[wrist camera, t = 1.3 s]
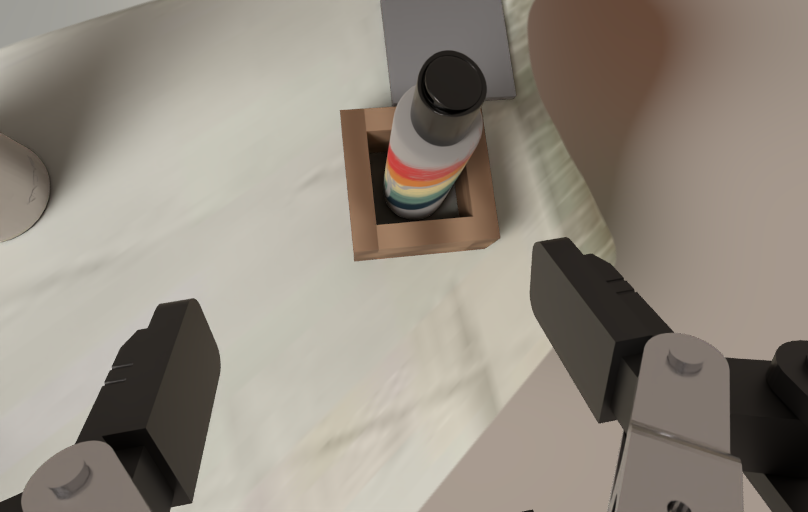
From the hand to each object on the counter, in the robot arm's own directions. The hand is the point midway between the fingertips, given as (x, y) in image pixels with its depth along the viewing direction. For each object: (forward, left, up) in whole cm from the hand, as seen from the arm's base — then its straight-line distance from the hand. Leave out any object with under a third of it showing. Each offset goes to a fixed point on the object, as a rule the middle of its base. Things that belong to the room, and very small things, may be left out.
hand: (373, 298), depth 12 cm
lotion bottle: (+6, +12, -32) cm, 34 cm away
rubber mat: (+11, +26, -31) cm, 42 cm away
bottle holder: (+6, +12, -31) cm, 34 cm away
